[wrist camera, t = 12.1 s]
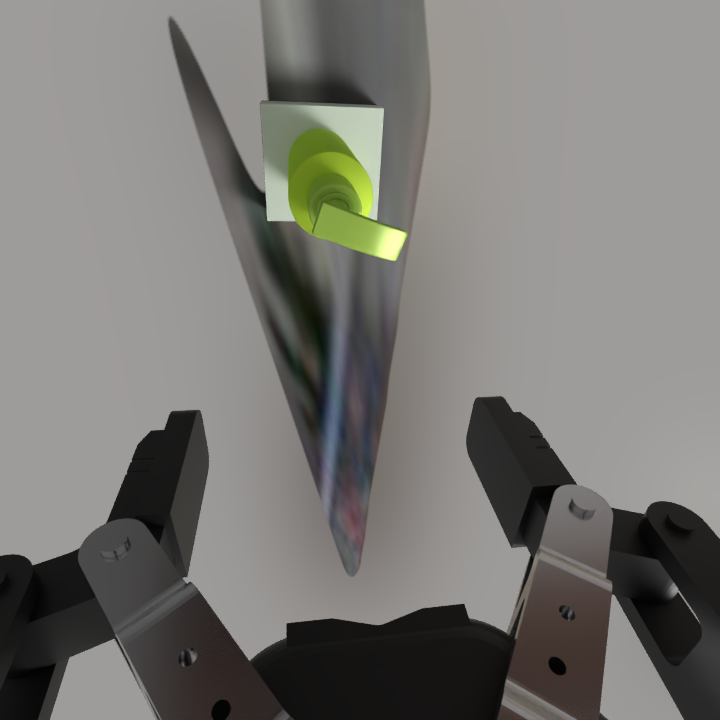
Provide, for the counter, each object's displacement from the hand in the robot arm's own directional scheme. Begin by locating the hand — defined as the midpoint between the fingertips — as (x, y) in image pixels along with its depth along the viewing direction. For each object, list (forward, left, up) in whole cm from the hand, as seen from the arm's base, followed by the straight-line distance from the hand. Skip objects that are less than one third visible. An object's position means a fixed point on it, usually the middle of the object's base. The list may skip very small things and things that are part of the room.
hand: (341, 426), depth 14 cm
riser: (-1, +2, -39) cm, 39 cm away
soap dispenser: (-1, +2, -36) cm, 36 cm away
